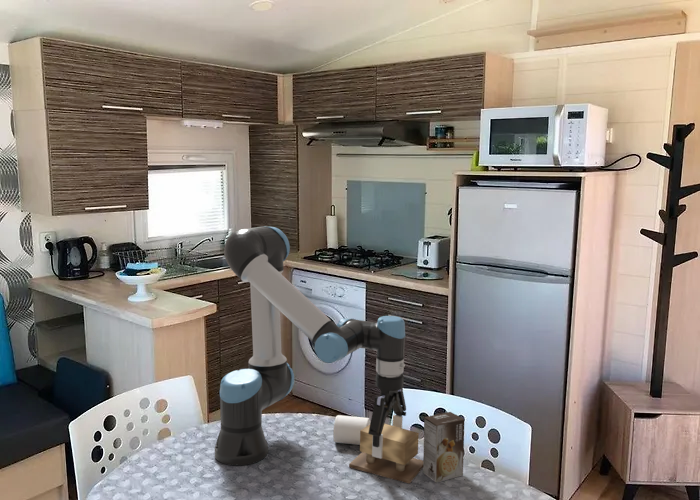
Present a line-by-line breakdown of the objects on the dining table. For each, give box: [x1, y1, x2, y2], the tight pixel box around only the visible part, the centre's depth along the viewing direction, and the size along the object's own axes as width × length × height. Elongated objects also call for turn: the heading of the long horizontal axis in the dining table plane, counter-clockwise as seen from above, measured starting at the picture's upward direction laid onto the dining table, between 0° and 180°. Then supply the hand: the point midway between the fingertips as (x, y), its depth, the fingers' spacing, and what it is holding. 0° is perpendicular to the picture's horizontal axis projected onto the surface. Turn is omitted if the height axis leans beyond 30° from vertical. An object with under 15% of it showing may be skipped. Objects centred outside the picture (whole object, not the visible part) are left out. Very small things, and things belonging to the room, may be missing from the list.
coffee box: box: [422, 411, 465, 484], centre depth 158 cm, size 9×6×16 cm
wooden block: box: [359, 423, 420, 465], centre depth 162 cm, size 14×8×6 cm, turn 57°
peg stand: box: [348, 452, 423, 485], centre depth 163 cm, size 18×12×4 cm, turn 62°
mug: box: [332, 414, 371, 446], centre depth 179 cm, size 12×10×8 cm
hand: (387, 447), depth 162 cm, fingers open, 13 cm apart
